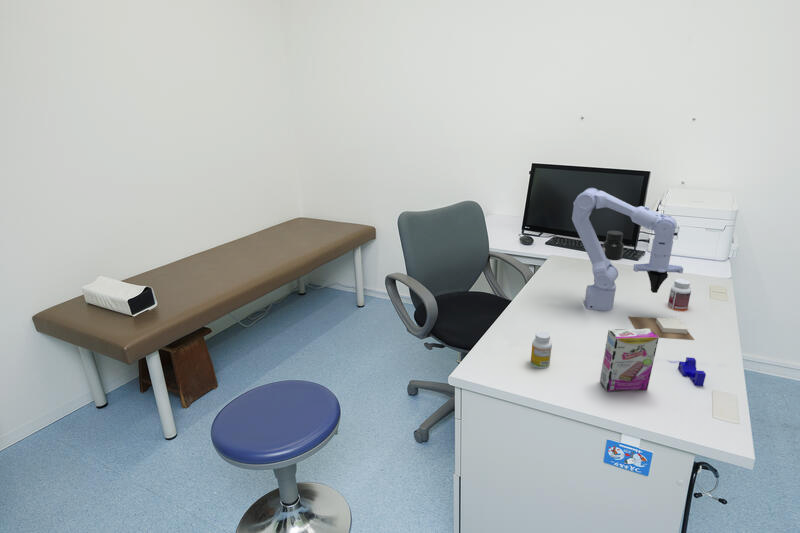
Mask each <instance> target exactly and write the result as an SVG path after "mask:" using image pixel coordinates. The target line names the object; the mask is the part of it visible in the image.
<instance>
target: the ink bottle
mask: <svg viewBox="0 0 800 533" xmlns="http://www.w3.org/2000/svg"><path fill="white" fill-rule="evenodd" d="M623 237H624V233H623V232H622V231H619V230H608V231H607V232H606V238H605V239H606V240H605V241H603V244H602V249H603V251H604V253H605V256H606V258H607V259H608V260H610V261H612V260H613V261H615V260H621V259H623V253H624V248H625V245H624V243H623Z"/></svg>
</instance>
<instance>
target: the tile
mask: <svg viewBox="0 0 800 533" xmlns="http://www.w3.org/2000/svg"><path fill="white" fill-rule="evenodd" d="M655 318H656V323H657V325H658V326H659V328H660V329H661V331H662V332H665V333H681V334H687V331H688V328H687V327H686V325H685V324H684V323H683V322H682V320H681V319H680V318H679V319H678V318H666V317H665V318H663V317H655Z"/></svg>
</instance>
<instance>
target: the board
mask: <svg viewBox="0 0 800 533" xmlns="http://www.w3.org/2000/svg"><path fill="white" fill-rule="evenodd" d="M627 317H628V319H629V321H630V323H631V324H632V327H633V329H650V330H652V332H654V333H655V334H656V335H657V336H658V337H659V339H670V340H671V339H672V340H674V339H675V340H685V341H687V340H688V341H695V339H694V337H693V336H692V335H691V333H690V332H689V331H688V330H687V334H681V333H665V332H662V331H661V329H660V328H659V326H658V325H657V323H656V318H657V317H647V316H645V317H644V316H643V317H642V316H627Z"/></svg>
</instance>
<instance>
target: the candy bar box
mask: <svg viewBox="0 0 800 533" xmlns="http://www.w3.org/2000/svg"><path fill="white" fill-rule="evenodd" d="M606 336H607V337H606V343H605V348H604V356H603V361H602V367H601V372H600V378H599V382H600V384H601V385H602V386H603V388H604V389H605V391H606V392H621V391H623V392H624V391H648V388H649V384H650V379H651V376H652V375H651V374H652V369H653V366H654V365H653V364H654V360H655V357H656V353H657V352H656V351H657V348H658V343H659V339H660V338H659V337H658V336H657V335H656V334H655V333H654V332H652V330H650V329H635V328H629V329H628V328H626V329H625V328H624V329H622V328H621V329H620V328H619V329H618V328H617V329H616V328H615V329H608V331H607V335H606Z"/></svg>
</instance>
